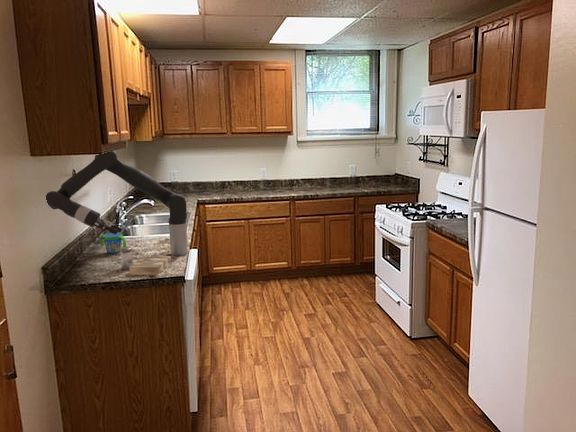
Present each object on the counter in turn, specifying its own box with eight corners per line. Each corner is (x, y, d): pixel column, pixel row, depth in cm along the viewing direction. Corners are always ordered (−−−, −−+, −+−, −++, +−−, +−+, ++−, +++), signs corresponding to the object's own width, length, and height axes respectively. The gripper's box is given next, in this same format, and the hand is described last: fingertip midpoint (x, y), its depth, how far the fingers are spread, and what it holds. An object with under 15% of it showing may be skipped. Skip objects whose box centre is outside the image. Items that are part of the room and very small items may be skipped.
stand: (144, 263, 236) (143, 255, 235) (171, 263, 235) (170, 255, 234) (130, 274, 218) (129, 265, 218) (158, 274, 217) (158, 265, 216)
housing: (124, 266, 233) (122, 247, 231) (135, 266, 232) (133, 247, 230) (119, 269, 227) (117, 250, 225) (130, 269, 227) (129, 250, 225)
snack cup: (131, 251, 263) (129, 233, 261) (118, 255, 253) (116, 237, 251) (110, 248, 269) (108, 232, 267) (96, 253, 259) (94, 235, 257)
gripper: (86, 210, 211) (119, 226, 214) (95, 208, 225) (125, 223, 228) (79, 224, 211) (112, 240, 213) (88, 222, 225) (118, 237, 228)
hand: (119, 231), depth 221 cm, fingers open, 8 cm apart
